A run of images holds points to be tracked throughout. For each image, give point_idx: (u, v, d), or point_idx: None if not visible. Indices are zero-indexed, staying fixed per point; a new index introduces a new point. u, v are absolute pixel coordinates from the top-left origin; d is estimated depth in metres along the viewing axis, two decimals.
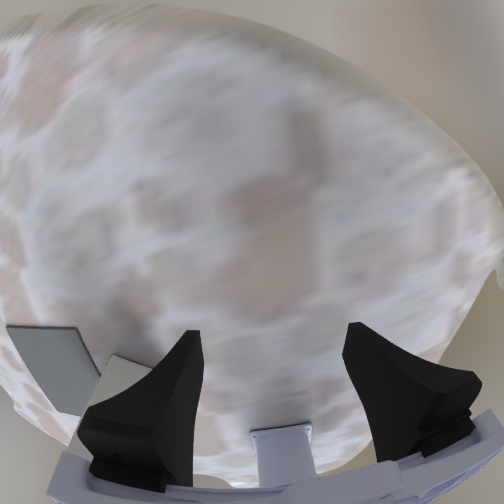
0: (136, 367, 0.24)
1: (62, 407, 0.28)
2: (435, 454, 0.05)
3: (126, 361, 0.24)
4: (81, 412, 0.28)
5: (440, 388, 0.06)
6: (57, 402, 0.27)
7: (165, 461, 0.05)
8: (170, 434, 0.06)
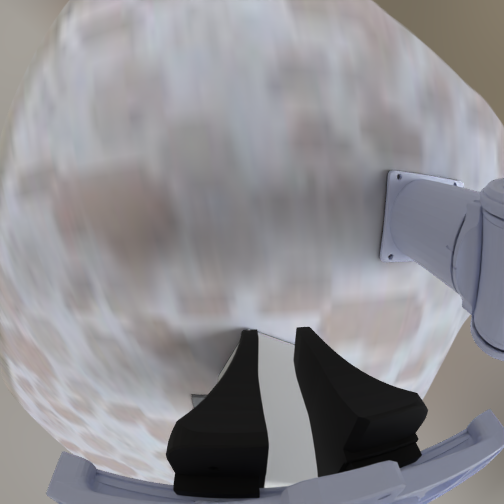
0: (228, 362, 0.25)
1: None
2: None
3: (224, 368, 0.25)
4: None
5: (365, 411, 0.05)
6: None
7: (266, 464, 0.05)
8: None
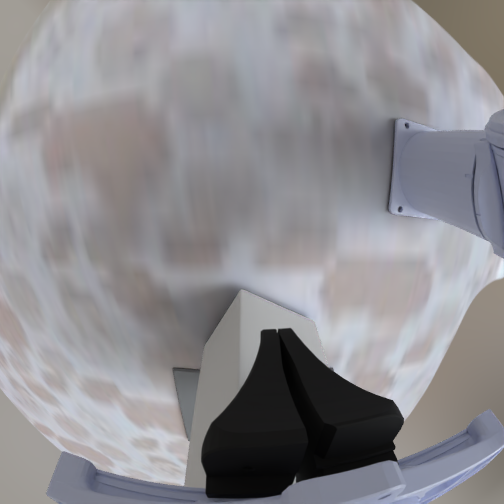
0: (216, 330, 0.22)
1: None
2: None
3: (211, 336, 0.22)
4: None
5: (333, 417, 0.05)
6: None
7: None
8: None
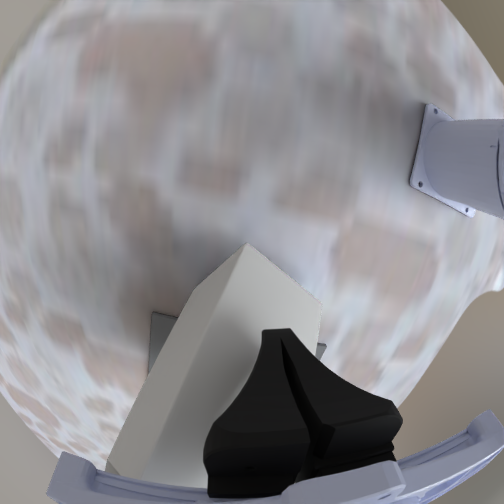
0: (208, 277, 0.19)
1: None
2: None
3: (203, 281, 0.20)
4: None
5: (331, 418, 0.05)
6: None
7: None
8: None
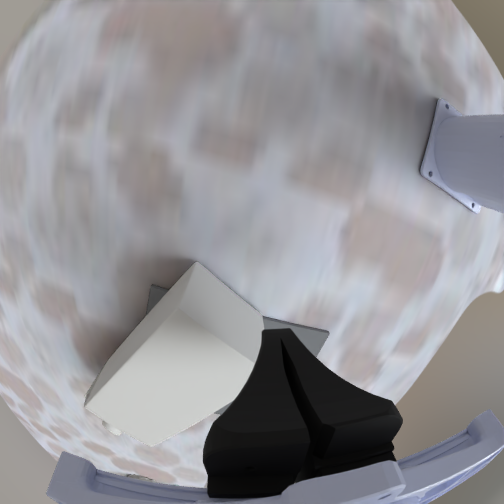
0: (183, 282, 0.18)
1: None
2: None
3: (190, 271, 0.19)
4: None
5: (331, 418, 0.05)
6: None
7: None
8: None
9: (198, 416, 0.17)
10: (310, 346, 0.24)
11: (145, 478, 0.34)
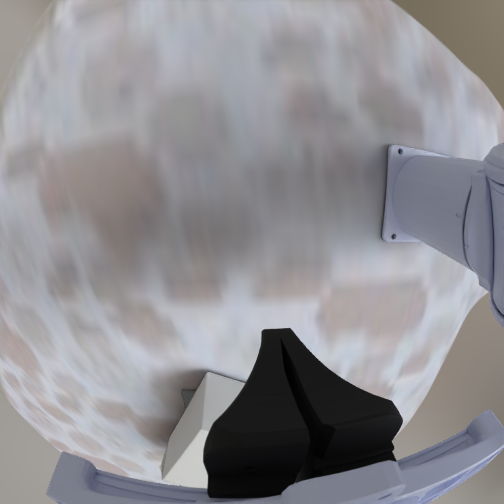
0: (201, 396, 0.21)
1: None
2: None
3: (204, 385, 0.22)
4: None
5: (331, 418, 0.05)
6: None
7: None
8: None
9: None
10: None
11: None
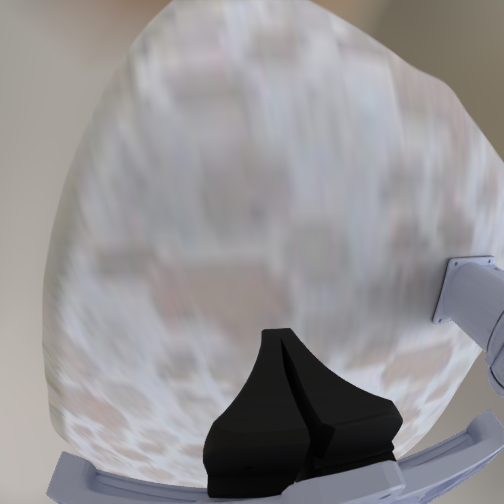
0: None
1: None
2: None
3: None
4: None
5: (331, 418, 0.05)
6: None
7: None
8: None
9: None
10: None
11: None
